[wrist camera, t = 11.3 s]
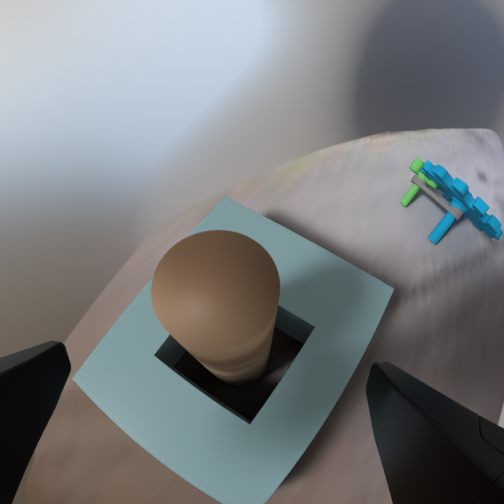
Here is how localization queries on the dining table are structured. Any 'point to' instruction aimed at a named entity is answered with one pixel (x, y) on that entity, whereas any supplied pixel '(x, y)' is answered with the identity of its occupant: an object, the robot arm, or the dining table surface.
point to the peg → (219, 302)
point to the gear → (451, 200)
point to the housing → (213, 410)
